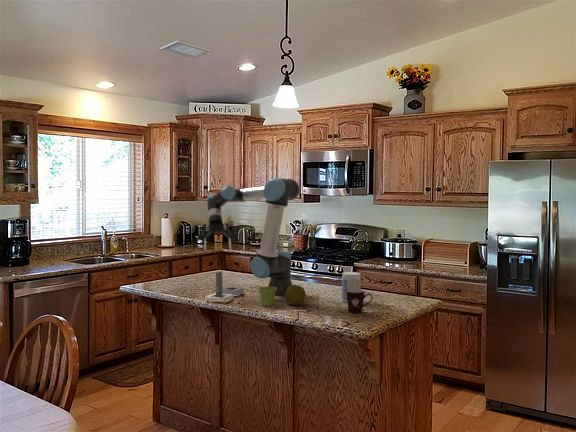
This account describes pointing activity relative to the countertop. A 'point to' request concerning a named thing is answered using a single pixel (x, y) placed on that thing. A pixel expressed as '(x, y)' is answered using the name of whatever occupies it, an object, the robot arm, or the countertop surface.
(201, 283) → the countertop surface
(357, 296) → the coffee mug
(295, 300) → the apple
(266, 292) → the plant pot
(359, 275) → the supplement tub
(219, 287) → the rod
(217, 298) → the block
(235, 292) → the socket block
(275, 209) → the robot arm
